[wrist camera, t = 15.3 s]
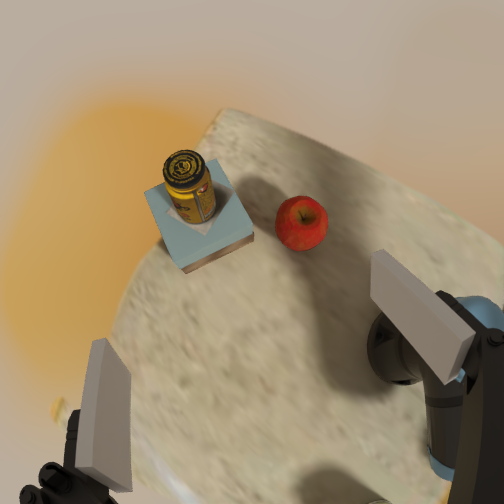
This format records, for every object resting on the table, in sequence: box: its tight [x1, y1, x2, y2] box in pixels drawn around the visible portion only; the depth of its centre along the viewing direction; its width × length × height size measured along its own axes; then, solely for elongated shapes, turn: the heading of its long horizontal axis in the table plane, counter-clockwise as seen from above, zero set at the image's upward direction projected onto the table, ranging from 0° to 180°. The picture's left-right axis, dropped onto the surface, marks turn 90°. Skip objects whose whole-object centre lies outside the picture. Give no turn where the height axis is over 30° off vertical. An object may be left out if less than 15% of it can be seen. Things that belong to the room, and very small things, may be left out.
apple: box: [275, 196, 328, 251], centre depth 50 cm, size 9×8×11 cm
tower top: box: [144, 159, 253, 269], centre depth 49 cm, size 13×13×4 cm
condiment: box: [163, 150, 235, 236], centre depth 42 cm, size 7×8×12 cm
